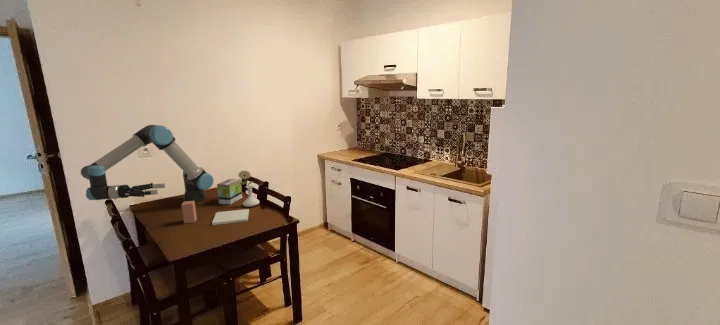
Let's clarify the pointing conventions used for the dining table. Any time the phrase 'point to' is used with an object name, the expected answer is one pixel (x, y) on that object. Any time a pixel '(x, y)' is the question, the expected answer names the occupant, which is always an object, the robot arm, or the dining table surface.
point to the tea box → (229, 191)
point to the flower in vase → (250, 200)
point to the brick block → (189, 212)
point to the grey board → (231, 217)
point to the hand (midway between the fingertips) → (161, 188)
